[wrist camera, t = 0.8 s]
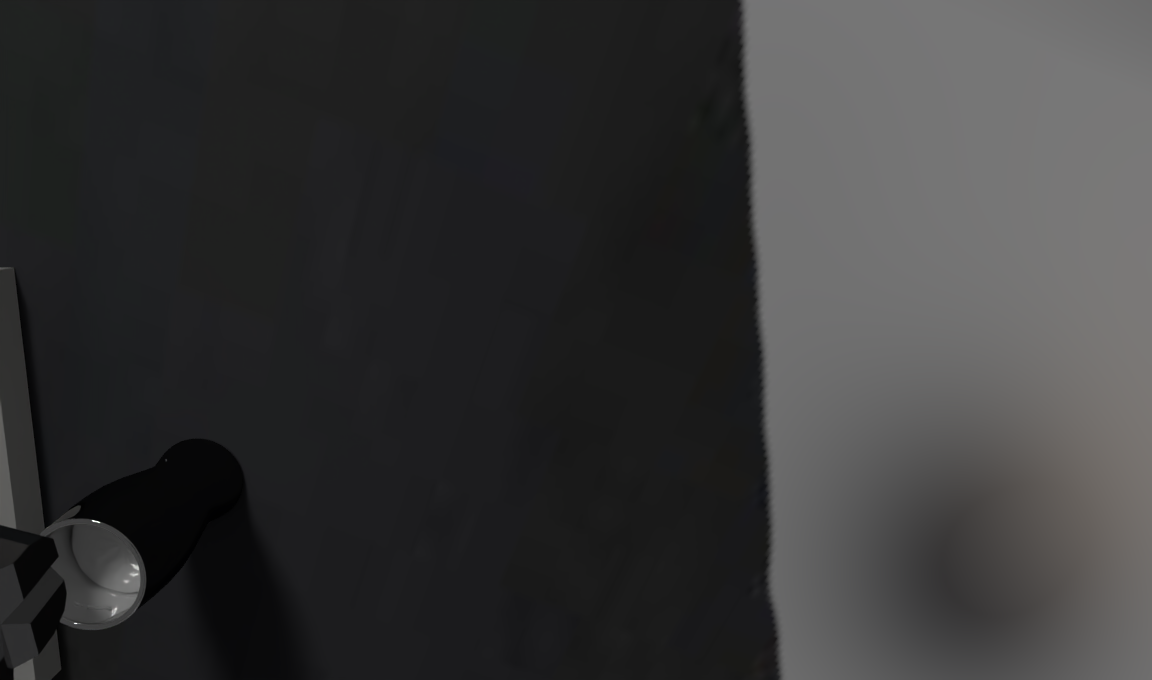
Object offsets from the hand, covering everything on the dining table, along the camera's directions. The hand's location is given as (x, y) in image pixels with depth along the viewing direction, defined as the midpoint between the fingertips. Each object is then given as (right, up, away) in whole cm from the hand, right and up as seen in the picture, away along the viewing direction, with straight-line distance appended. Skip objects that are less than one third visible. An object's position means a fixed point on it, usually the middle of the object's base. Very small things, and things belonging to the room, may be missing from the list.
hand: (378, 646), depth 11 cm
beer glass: (-24, -6, +51) cm, 57 cm away
